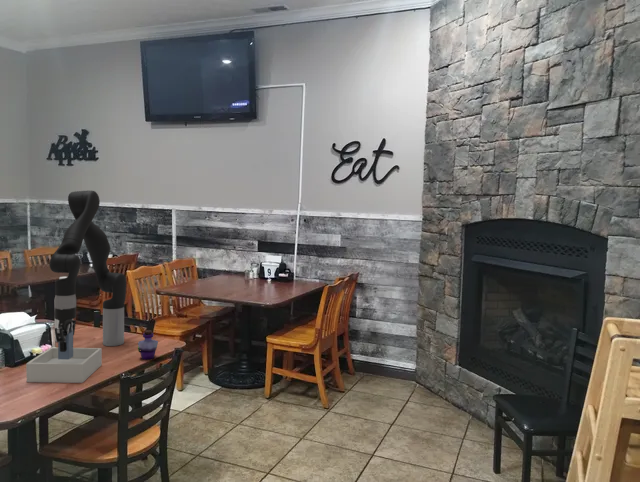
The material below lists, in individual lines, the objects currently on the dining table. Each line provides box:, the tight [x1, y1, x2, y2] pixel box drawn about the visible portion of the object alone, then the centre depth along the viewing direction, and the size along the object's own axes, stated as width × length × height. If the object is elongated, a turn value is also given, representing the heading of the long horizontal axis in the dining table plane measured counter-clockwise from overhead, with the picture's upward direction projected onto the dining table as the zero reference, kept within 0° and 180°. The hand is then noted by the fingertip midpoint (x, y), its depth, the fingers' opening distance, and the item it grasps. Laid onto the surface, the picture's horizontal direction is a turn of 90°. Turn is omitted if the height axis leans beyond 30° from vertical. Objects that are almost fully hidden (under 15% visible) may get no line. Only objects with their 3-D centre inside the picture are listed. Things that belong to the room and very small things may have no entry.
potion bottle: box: [137, 329, 159, 361], centre depth 223 cm, size 9×9×12 cm
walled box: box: [25, 346, 103, 384], centre depth 202 cm, size 20×20×7 cm
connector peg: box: [57, 331, 74, 359], centre depth 201 cm, size 4×4×10 cm
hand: (65, 349), depth 201 cm, fingers closed on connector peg, 4 cm apart
